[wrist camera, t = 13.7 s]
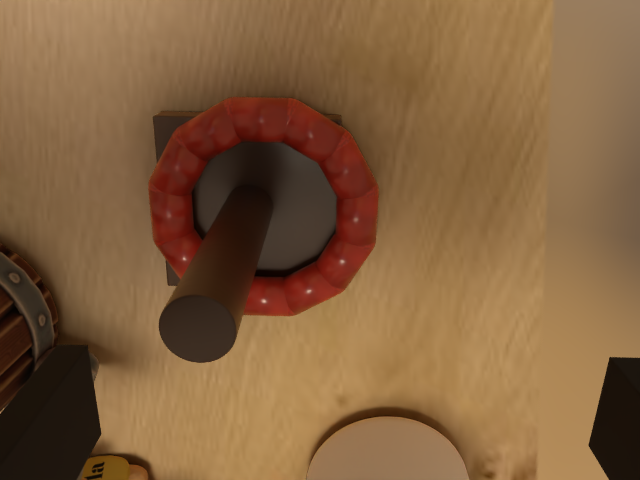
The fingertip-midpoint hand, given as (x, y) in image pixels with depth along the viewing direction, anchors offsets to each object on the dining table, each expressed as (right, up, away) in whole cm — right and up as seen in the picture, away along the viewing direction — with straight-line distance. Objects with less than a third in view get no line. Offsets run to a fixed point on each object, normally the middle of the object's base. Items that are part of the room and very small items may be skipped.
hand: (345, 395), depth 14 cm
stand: (-4, +6, +16) cm, 17 cm away
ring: (-3, +5, +13) cm, 15 cm away
